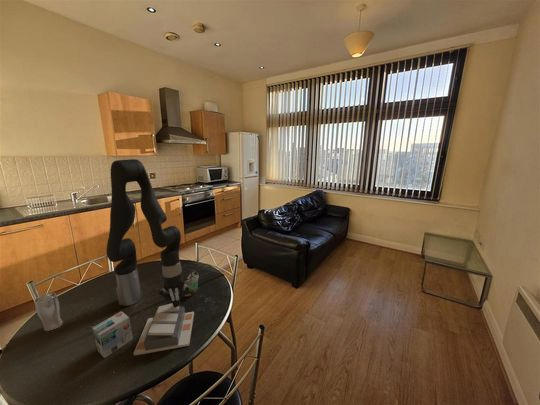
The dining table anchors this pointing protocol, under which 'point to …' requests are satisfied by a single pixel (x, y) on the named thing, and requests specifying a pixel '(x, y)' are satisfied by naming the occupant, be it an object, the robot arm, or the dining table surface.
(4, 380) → the dining table surface
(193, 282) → the food container
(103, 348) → the light bulb box
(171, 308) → the rocker back
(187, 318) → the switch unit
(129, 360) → the dining table surface
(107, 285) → the dining table surface
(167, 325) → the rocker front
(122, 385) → the dining table surface
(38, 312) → the beer glass
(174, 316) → the rocker middle
